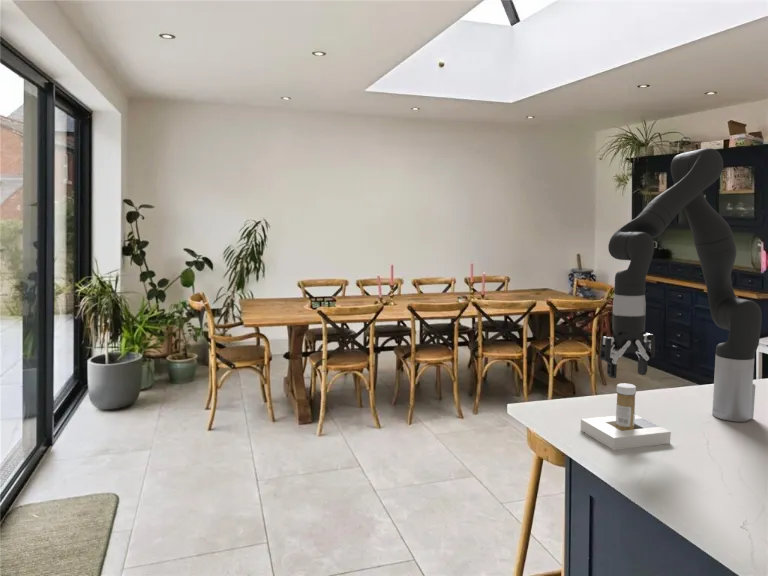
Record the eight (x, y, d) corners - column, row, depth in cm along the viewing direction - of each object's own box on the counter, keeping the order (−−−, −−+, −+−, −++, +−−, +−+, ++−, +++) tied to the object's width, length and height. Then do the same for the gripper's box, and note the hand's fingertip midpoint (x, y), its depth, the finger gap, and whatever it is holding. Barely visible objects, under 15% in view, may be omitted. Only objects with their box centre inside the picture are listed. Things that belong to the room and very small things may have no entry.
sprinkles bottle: (637, 437, 151) (640, 385, 149) (626, 441, 148) (629, 388, 147) (621, 431, 155) (623, 381, 153) (610, 435, 152) (612, 384, 150)
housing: (633, 424, 160) (633, 413, 160) (670, 443, 147) (670, 431, 146) (580, 430, 156) (580, 419, 156) (613, 450, 143) (614, 438, 142)
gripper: (643, 308, 153) (641, 370, 155) (594, 311, 149) (593, 374, 151) (664, 313, 146) (661, 377, 147) (613, 316, 142) (611, 382, 144)
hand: (627, 376), depth 149 cm, fingers open, 8 cm apart
